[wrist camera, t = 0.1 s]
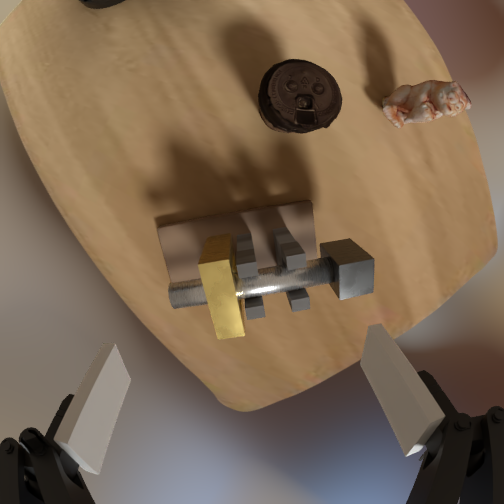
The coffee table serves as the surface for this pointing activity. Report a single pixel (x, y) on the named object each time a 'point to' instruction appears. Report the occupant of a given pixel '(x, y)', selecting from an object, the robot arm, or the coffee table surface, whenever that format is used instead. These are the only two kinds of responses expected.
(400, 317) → the coffee table surface
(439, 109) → the figurine
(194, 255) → the bearing block
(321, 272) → the shaft
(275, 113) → the coffee cup
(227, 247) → the block
